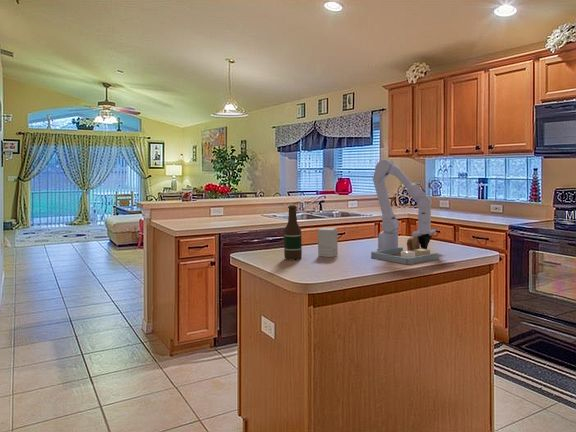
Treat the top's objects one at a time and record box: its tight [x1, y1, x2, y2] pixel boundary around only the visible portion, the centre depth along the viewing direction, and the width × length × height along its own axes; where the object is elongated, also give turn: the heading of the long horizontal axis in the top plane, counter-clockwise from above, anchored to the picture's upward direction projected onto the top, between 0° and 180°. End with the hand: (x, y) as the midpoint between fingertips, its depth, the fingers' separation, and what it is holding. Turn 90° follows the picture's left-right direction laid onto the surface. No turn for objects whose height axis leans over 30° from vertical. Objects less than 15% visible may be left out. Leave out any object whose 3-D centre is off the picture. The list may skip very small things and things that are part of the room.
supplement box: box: [317, 227, 339, 258], centre depth 216 cm, size 7×7×13 cm
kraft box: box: [413, 247, 431, 257], centre depth 207 cm, size 5×5×4 cm
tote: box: [370, 246, 440, 265], centre depth 208 cm, size 21×20×2 cm
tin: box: [406, 235, 421, 251], centre depth 214 cm, size 15×3×8 cm, turn 152°
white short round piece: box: [400, 250, 415, 258], centre depth 202 cm, size 6×6×4 cm
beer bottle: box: [283, 204, 303, 260], centre depth 210 cm, size 8×8×24 cm
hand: (423, 250), depth 221 cm, fingers closed
